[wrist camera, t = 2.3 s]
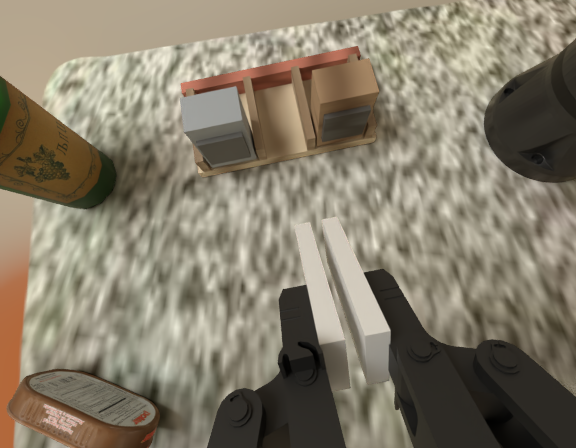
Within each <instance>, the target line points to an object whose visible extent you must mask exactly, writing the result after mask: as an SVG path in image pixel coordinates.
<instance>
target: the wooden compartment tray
mask: <svg viewBox="0 0 576 448" xmlns="http://www.w3.org/2000/svg"><path fill="white" fill-rule="evenodd" d="M360 56H361V55H360V51H359V48H358V46H356V47H351V48H346V49H341V50H337V51H332V52H327V53H322V54H318V55H313V56H308V57H303V58H299V59H294V60H289V61H284V62H280V63H275V64H270V65H266V66H261V67H256V68H251V69H247V70H242V71H237V72H232V73H228V74H223V75H218V76H213V77H209V78H204V79H199V80H194V81H190V82H185V83H181V89H182V94H183V95H184V97H187V96H192V95H197V94H202V93H206V92H211V91H216V90H221V89H225V88H230V87H235V86H236V87H237V90H238V93H239V96H240V99H241V101H242V104H243V107H244V110H245V113H246V116H247V119H248V122H249V125H250V128H251V130H252V135H253V140H254V146H255V151H256V157H257V159H254V160H249V161H244V162H239V163H234V164H229V165H224V166H220V167H215V168H212V167H211V166H210V164H209V163H208V162H207V161H206V159H205V158H204V157H203V156H202V154H201V153H200V152H199V150H198V149H197V148H196V147H195V145H194V144H193V150H194V157H195V163H196V164H197V166H198V173H199V174H200V175H201V176H202V177H207V176H212V175H217V174H222V173H227V172H232V171H236V170H241V169H246V168H251V167H256V166H261V165H266V164H271V163H275V162H280V161H285V160H290V159H295V158H300V157H305V156H309V155H314V154H319V153H324V152H329V151H334V150H339V149H344V148H348V147H353V146H358V145H363V144H368V143H373V142H374V141H375V139H376V137H377V136H376V132H375V129H376V127H377V123H376V120H375V116H374V113H373V110H372V112H371V114H370V117H369V120H368V122H367V125H366V128H365V130H364V133H363V135H362V137H360V138H356V139H351V140H346V141H341V142H336V143H331V144H326V145H322V146H316V141H315V134H314V129H313V125H312V121H311V117H310V116H311V85H312V70H316V69H321V68H325V67H330V66H335V65H340V64H344V63H349V62H354V61H359V60H360Z"/></svg>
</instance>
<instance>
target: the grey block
mask: <svg viewBox="0 0 576 448" xmlns="http://www.w3.org/2000/svg"><path fill="white" fill-rule="evenodd" d="M180 103H181V111H182V119H183V127H184V133H185V134H186V135H187V136H188V138H189V139H190V140H191V142H192V143H193V144H194V145H195V147H196V148H197V149H198V150H199V152H200V153H201V154H202V156H203V157H204V158H205V159H206V161H207V162H208V163H209V164H210V166H211V167H212V168H215V167H220V166H224V165H229V164H234V163H239V162H244V161H249V160H254V159H257V157H256V151H255V146H254V140H253V135H252V130H251V128H250V125H249V122H248V119H247V116H246V113H245V110H244V107H243V104H242V101H241V99H240V96H239V93H238V90H237V87H236V86H235V87H230V88H225V89H221V90H216V91H211V92H206V93H202V94H197V95H192V96H187V97H183V98H180Z"/></svg>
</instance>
